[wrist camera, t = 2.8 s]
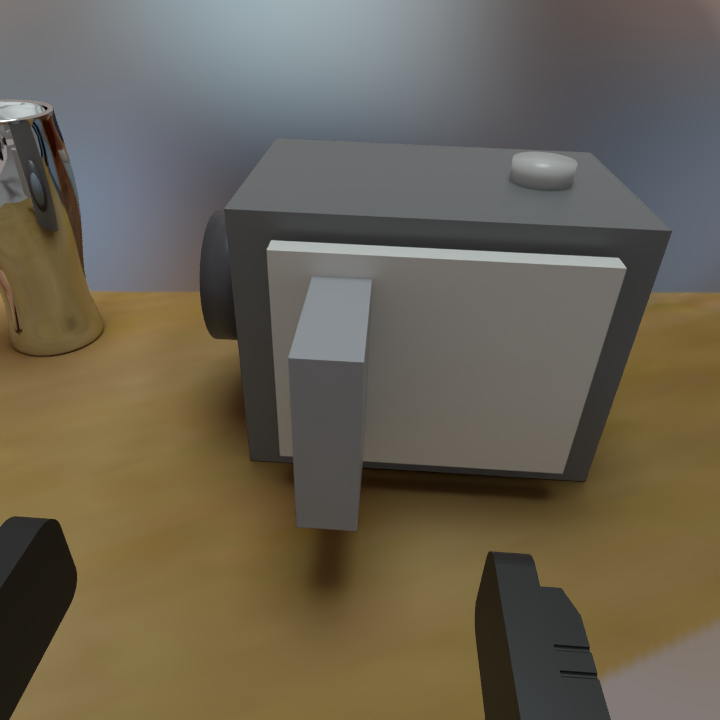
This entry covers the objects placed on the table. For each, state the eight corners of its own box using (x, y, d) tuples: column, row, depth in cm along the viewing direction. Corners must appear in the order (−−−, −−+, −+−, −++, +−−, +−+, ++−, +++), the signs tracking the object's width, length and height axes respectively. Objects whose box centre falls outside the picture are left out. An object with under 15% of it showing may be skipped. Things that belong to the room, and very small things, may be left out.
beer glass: (120, 343, 41) (65, 116, 32) (8, 371, 38) (-84, 128, 29) (100, 302, 46) (48, 95, 37) (0, 323, 42) (-81, 103, 34)
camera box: (540, 357, 41) (594, 134, 32) (586, 484, 31) (682, 208, 22) (247, 340, 41) (227, 118, 33) (198, 459, 31) (150, 182, 23)
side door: (558, 459, 29) (618, 257, 23) (596, 580, 23) (691, 353, 17) (283, 442, 30) (271, 240, 24) (254, 556, 24) (228, 327, 18)
